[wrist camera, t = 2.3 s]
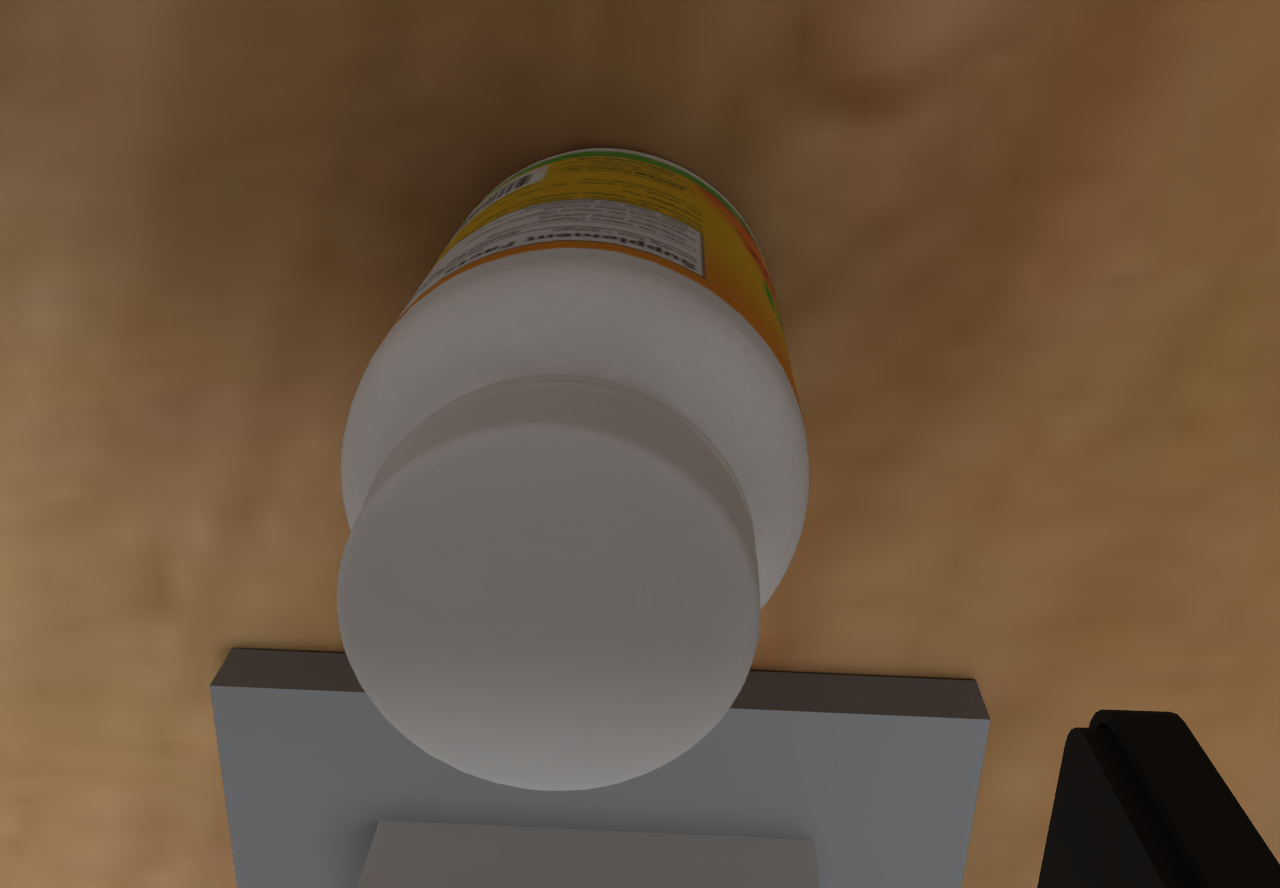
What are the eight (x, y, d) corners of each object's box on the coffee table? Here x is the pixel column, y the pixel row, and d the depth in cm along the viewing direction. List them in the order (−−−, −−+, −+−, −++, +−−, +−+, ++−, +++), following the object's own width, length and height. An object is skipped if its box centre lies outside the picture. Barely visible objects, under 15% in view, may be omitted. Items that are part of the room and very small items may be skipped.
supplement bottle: (747, 472, 21) (790, 879, 12) (439, 437, 21) (262, 822, 12) (796, 161, 19) (891, 390, 10) (453, 122, 19) (250, 316, 10)
